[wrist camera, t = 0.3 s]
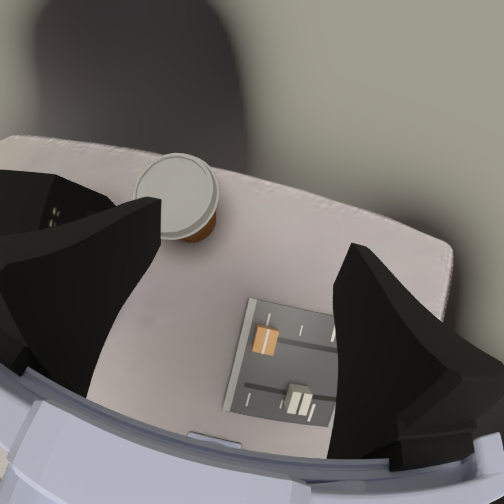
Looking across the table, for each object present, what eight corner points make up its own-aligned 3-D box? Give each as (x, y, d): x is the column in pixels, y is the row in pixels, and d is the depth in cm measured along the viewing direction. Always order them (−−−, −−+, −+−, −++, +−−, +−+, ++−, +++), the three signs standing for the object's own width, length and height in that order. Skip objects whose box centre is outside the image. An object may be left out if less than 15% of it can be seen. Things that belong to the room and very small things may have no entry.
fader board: (331, 424, 36) (334, 428, 34) (223, 406, 36) (222, 410, 35) (361, 321, 38) (365, 322, 36) (249, 297, 38) (249, 297, 37)
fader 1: (271, 350, 36) (273, 356, 32) (252, 346, 36) (252, 351, 32) (276, 327, 36) (279, 331, 33) (257, 323, 36) (258, 326, 33)
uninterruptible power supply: (8, 194, 41) (-60, 159, 21) (146, 219, 40) (72, 162, 20) (-10, 274, 38) (-84, 262, 19) (122, 330, 38) (32, 352, 18)
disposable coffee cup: (213, 263, 39) (197, 250, 27) (151, 240, 39) (114, 220, 27) (237, 199, 40) (232, 162, 28) (176, 180, 40) (151, 140, 29)
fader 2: (301, 405, 35) (306, 415, 31) (283, 403, 35) (286, 413, 31) (307, 386, 35) (312, 394, 31) (289, 383, 35) (293, 391, 32)
